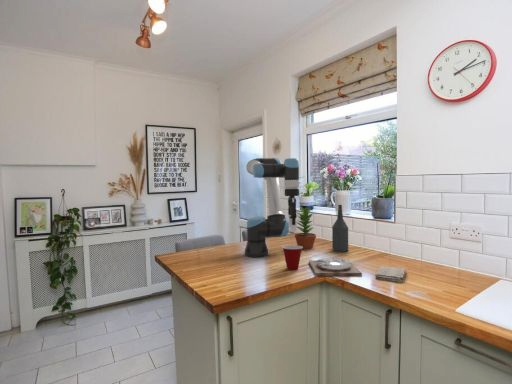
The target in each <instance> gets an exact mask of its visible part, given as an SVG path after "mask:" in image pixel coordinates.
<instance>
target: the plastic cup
mask: <svg viewBox="0 0 512 384" xmlns="http://www.w3.org/2000/svg"><path fill="white" fill-rule="evenodd" d="M281 248H282V250H283V255H284V260H285V265H286V268H287V270H289V271H297V270H299V267H300V266H299V265H300V260H301V254H302V251H303V249H302V248H303V247H302V246H298V245H294V244H293V245H282V246H281Z"/></svg>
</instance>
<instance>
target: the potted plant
mask: <svg viewBox="0 0 512 384" xmlns="http://www.w3.org/2000/svg"><path fill="white" fill-rule="evenodd" d="M298 206H299V207H298V208H299V209H300V211H301V213H300V212H298V211H296V214H297V217H298V218H299V220H298V219H297V221H298V222H296V229H298V230H300V231H301V232H299V233H298V232H297V233H295V234H294V238H295V241H296V246H302V247H303V248H302V250H312V249H314V245H315V241H316V238H317V234H316V233H312V232H310V231H312V230H313V229H314V228H315V226H313V227H312V225H311V224H310V223H312V222H313V220H310V219H311V217H313V213H310V212H311V211H312V210H311V209H312V208H311V206H312V204H310V205H308V206H306V207H305V208H304V207H303V206H300V205H298ZM297 225H299V226H297Z"/></svg>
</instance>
